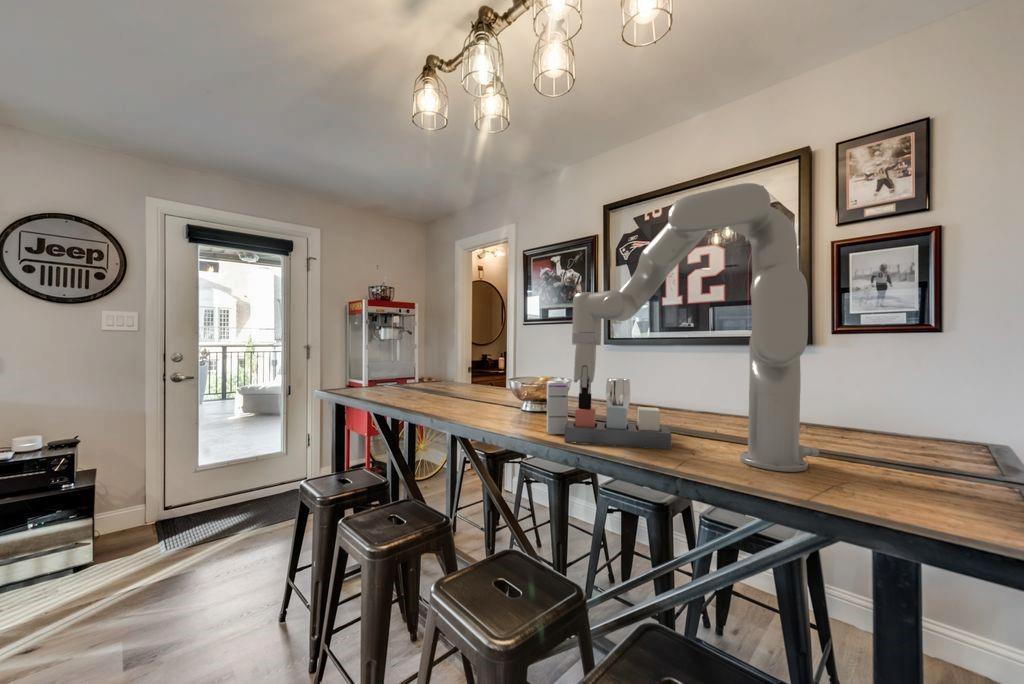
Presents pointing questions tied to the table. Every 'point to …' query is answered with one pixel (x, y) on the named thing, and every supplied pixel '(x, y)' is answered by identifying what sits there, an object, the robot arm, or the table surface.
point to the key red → (585, 417)
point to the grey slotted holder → (618, 436)
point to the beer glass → (618, 392)
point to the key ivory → (648, 419)
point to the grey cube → (616, 417)
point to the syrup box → (557, 406)
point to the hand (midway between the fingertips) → (584, 408)
